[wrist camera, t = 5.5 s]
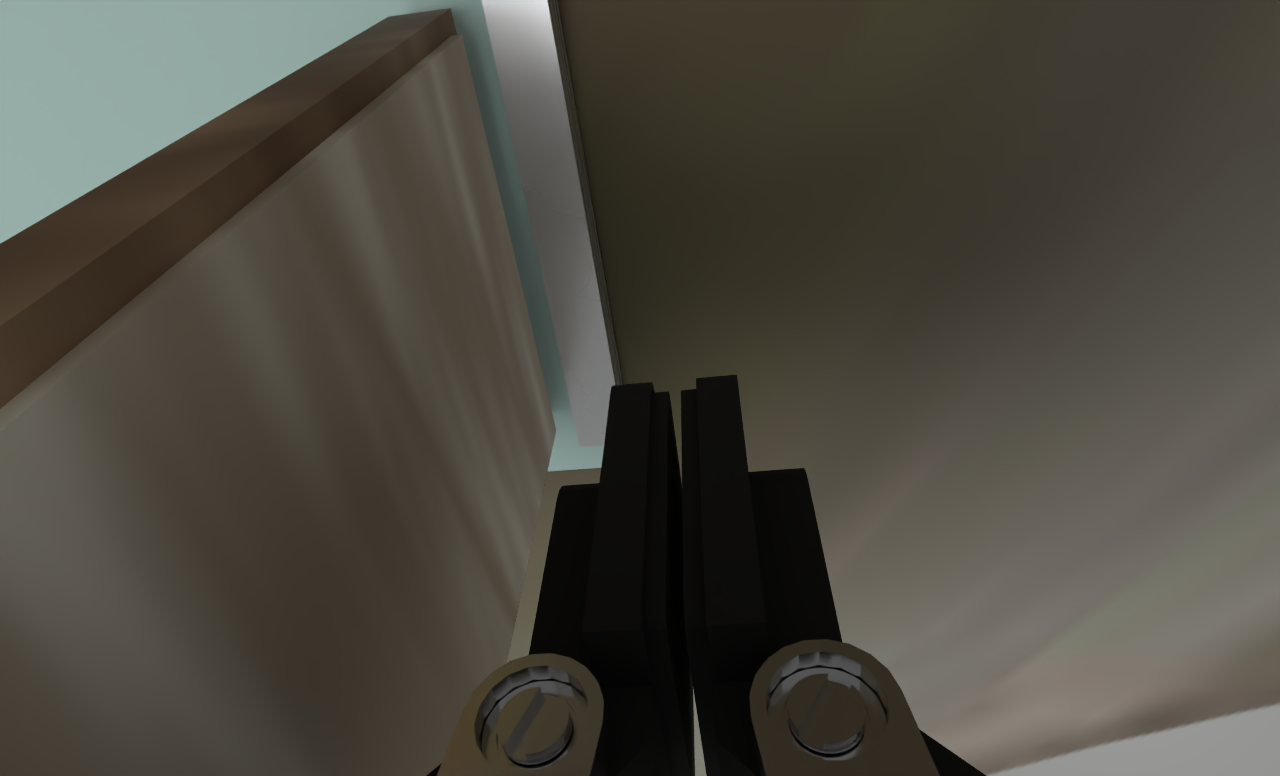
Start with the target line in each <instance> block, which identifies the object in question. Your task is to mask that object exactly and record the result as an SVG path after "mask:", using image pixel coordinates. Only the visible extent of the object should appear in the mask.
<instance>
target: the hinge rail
mask: <svg viewBox="0 0 1280 776" xmlns="http://www.w3.org/2000/svg"><path fill="white" fill-rule="evenodd" d="M482 4H483V9H484V13H485V18H486V22H487V27H488V32H489V36H490V41H491V45H492V50H493V54H494V59H495V63H496V68H497V72H498V77H499V82H500V86H501V91H502V95H503V100H504V104H505V109H506V113H507V118H508V123H509V127H510V132H511V136H512V141H513V145H514V150H515V154H516V159H517V163H518V168H519V173H520V177H521V182H522V186H523V191H524V195H525V200H526V204H527V209H528V213H529V218H530V223H531V227H532V232H533V236H534V241H535V245H536V250H537V254H538V259H539V263H540V268H541V273H542V277H543V282H544V286H545V291H546V295H547V300H548V304H549V309H550V313H551V318H552V323H553V327H554V332H555V336H556V341H557V345H558V350H559V354H560V359H561V363H562V368H563V373H564V377H565V382H566V386H567V391H568V395H569V400H570V404H571V409H572V414H573V418H574V423H575V427H576V432H577V436H578V441H579V445H580V447H590V446H603V445H604V441H605V433H606V425H607V416H608V408H609V399H610V391H611V387H612V386H614V385H623V382H622V376H621V370H620V364H619V358H618V352H617V346H616V340H615V335H614V329H613V323H612V317H611V311H610V305H609V299H608V293H607V287H606V282H605V276H604V270H603V264H602V258H601V252H600V246H599V240H598V234H597V228H596V223H595V217H594V211H593V205H592V199H591V193H590V187H589V181H588V175H587V169H586V164H585V158H584V152H583V146H582V140H581V134H580V128H579V122H578V116H577V110H576V105H575V99H574V93H573V87H572V81H571V75H570V69H569V63H568V57H567V52H566V46H565V40H564V34H563V28H562V22H561V16H560V10H559V4H558V0H482Z"/></svg>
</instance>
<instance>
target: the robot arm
mask: <svg viewBox="0 0 1280 776" xmlns="http://www.w3.org/2000/svg"><path fill="white" fill-rule="evenodd" d="M696 387H697V389H692V390H681V427H682V483H681V476H680V468H679V461H678V453H677V446H676V438H675V431H674V423H673V416H672V408H671V401H670V395H669V392H657V393H655V392H654V387H653V383H652V382H649V383H637V384H626V385H614V386H612V387H611V391H610V399H609V408H608V416H607V425H606V433H605V441H604V450H603V458H602V467H601V475H600V483H596V484H583V485H569V486H562V487H561V489H560V490H559V494H558V497H557V502H556V508H555V513H554V519H553V524H552V530H551V535H550V541H549V546H548V552H547V557H546V563H545V568H544V574H543V580H542V585H541V591H540V596H539V602H538V607H537V613H536V618H535V624H534V629H533V635H532V640H531V646H530V651H529V655H528V656H525V657H522V658H518V659H515V660H512V661H510V662H508V663H506V664H505V665H503V666H502V667H500V668H498V669H497V670H495V671H493V672H492V673H490V674H489V675H488V676H487V677H486V678H485V680H484V681H483V682H482V683H481V684H480V685H479V686H478V687H477V688H476V689H475V690H474V692H473V693H472V695H471V697H470V699H469V700H468V702H467V704H466V706H465V707H464V709H463V712H462V714H461V717H460V719H459V722H458V724H457V727H456V729H455V731H454V734H453V736H452V739H451V741H450V744H449V746H448V749H447V751H446V754H445V756H444V759H443V761H442V763H441V764H440V765H438V766H437V767H436V768H435V769H434V770H432V771H431V772H430V773H429V774H428V775H426V776H695V758H694V712H693V688H694V695H695V701H696V708H697V715H698V721H699V728H700V734H701V741H702V748H703V754H704V761H705V767H706V774H707V776H986V775H984V774H983V773H981V772H980V771H979V770H977V769H976V768H974V767H973V766H971V765H970V764H968V763H967V762H966V761H964V760H963V759H961V758H960V757H958V756H957V755H955V754H954V753H953V752H951V751H950V750H948V749H947V748H945V747H944V746H942V745H941V744H940V743H938V742H937V741H935V740H934V739H932V738H931V737H929V736H928V735H927V734H925V733H924V732H922V731H921V730H919V728H918V726H917V724H916V721H915V719H914V717H913V715H912V712H911V710H910V708H909V706H908V703H907V701H906V699H905V697H904V694H903V692H902V690H901V688H900V687H899V685H898V684H897V682H896V681H895V679H894V677H893V676H892V674H891V673H890V671H889V670H888V669H887V668H886V667H885V666H884V665H882V664H881V663H880V662H879V661H878V660H877V659H876V658H874V657H873V656H872V655H871V654H869V653H867V652H865V651H863V650H861V649H859V648H857V647H855V646H853V645H851V644H847V643H842V639H841V634H840V629H839V625H838V620H837V615H836V610H835V606H834V601H833V596H832V592H831V587H830V582H829V577H828V573H827V568H826V563H825V558H824V554H823V549H822V544H821V539H820V535H819V530H818V525H817V521H816V516H815V511H814V506H813V502H812V497H811V492H810V487H809V483H808V478H807V475H806V471H805V469H804V468H798V469H784V470H771V471H758V472H748V465H747V457H746V448H745V440H744V431H743V423H742V414H741V406H740V397H739V389H738V381H737V375H729V376H717V377H706V378H696Z"/></svg>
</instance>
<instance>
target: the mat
mask: <svg viewBox="0 0 1280 776" xmlns="http://www.w3.org/2000/svg"><path fill="white" fill-rule="evenodd" d="M448 8H451V11H452V15H453V19H454V23H455V28H456V32H457V35H461V34H462V37H463V41H464V46H465V50H466V54H467V58H468V62H469V67H470V71H471V75H472V79H473V83H474V88H475V92H476V96H477V100H478V104H479V109H480V113H481V117H482V121H483V125H484V130H485V134H486V138H487V142H488V146H489V151H490V155H491V159H492V163H493V167H494V171H495V176H496V180H497V184H498V188H499V192H500V197H501V201H502V205H503V209H504V213H505V218H506V222H507V226H508V230H509V234H510V239H511V243H512V247H513V251H514V255H515V260H516V264H517V268H518V272H519V276H520V281H521V285H522V289H523V293H524V297H525V302H526V306H527V310H528V314H529V318H530V322H531V327H532V331H533V335H534V339H535V343H536V348H537V352H538V356H539V360H540V364H541V369H542V373H543V377H544V381H545V385H546V390H547V394H548V398H549V402H550V406H551V411H552V415H553V419H554V423H555V427H556V434H555V439H554V444H553V448H552V453H551V458H550V462H549V467H548V471H560V470H574V469H589V468H601V467H602V458H603V450H604V445H603V446H590V447H580V445H579V441H578V436H577V432H576V427H575V423H574V418H573V414H572V409H571V404H570V400H569V395H568V391H567V386H566V382H565V377H564V373H563V368H562V363H561V359H560V354H559V350H558V345H557V341H556V336H555V332H554V327H553V323H552V318H551V313H550V309H549V304H548V300H547V295H546V291H545V286H544V282H543V277H542V273H541V268H540V263H539V259H538V254H537V250H536V245H535V241H534V236H533V232H532V227H531V223H530V218H529V213H528V209H527V204H526V200H525V195H524V191H523V186H522V182H521V177H520V173H519V168H518V163H517V159H516V154H515V150H514V145H513V141H512V136H511V132H510V127H509V123H508V118H507V113H506V109H505V104H504V100H503V95H502V91H501V86H500V82H499V77H498V72H497V68H496V63H495V59H494V54H493V50H492V45H491V41H490V36H489V32H488V27H487V22H486V18H485V13H484V9H483V4H482V0H0V243H2V242H4V241H6V240H7V239H9V238H11V237H12V236H14V235H16V234H18V233H19V232H21V231H23V230H24V229H26V228H28V227H30V226H31V225H33V224H35V223H36V222H38V221H40V220H41V219H43V218H45V217H47V216H48V215H50V214H52V213H53V212H55V211H57V210H59V209H60V208H62V207H64V206H65V205H67V204H69V203H71V202H72V201H74V200H76V199H77V198H79V197H81V196H83V195H84V194H86V193H88V192H89V191H91V190H93V189H94V188H96V187H98V186H100V185H101V184H103V183H105V182H106V181H108V180H110V179H112V178H113V177H115V176H117V175H118V174H120V173H122V172H124V171H125V170H127V169H129V168H130V167H132V166H134V165H136V164H137V163H139V162H141V161H142V160H144V159H146V158H147V157H149V156H151V155H153V154H154V153H156V152H158V151H159V150H161V149H163V148H165V147H166V146H168V145H170V144H171V143H173V142H175V141H177V140H178V139H180V138H182V137H183V136H185V135H187V134H189V133H190V132H192V131H194V130H195V129H197V128H199V127H200V126H202V125H204V124H206V123H207V122H209V121H211V120H212V119H214V118H216V117H218V116H219V115H221V114H223V113H224V112H226V111H228V110H230V109H231V108H233V107H235V106H236V105H238V104H240V103H242V102H243V101H245V100H247V99H248V98H250V97H252V96H253V95H255V94H257V93H259V92H260V91H262V90H264V89H265V88H267V87H269V86H271V85H272V84H274V83H276V82H277V81H279V80H281V79H283V78H284V77H286V76H288V75H289V74H291V73H293V72H295V71H296V70H298V69H300V68H301V67H303V66H305V65H306V64H308V63H310V62H312V61H313V60H315V59H317V58H318V57H320V56H322V55H324V54H325V53H327V52H329V51H330V50H332V49H334V48H336V47H337V46H339V45H341V44H342V43H344V42H346V41H348V40H349V39H351V38H353V37H354V36H356V35H358V34H359V33H361V32H363V31H365V30H366V29H368V28H370V27H371V26H373V25H375V24H377V23H378V22H380V21H382V20H383V19H385V18H387V17H389V16H396V15H404V14H411V13H418V12H426V11H433V10H440V9H448Z"/></svg>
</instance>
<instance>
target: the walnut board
mask: <svg viewBox="0 0 1280 776" xmlns="http://www.w3.org/2000/svg"><path fill="white" fill-rule="evenodd" d="M555 434H556V427H555V423H554V419H553V415H552V411H551V406H550V402H549V398H548V394H547V390H546V385H545V381H544V377H543V373H542V369H541V364H540V360H539V356H538V352H537V348H536V343H535V339H534V335H533V331H532V327H531V322H530V318H529V314H528V310H527V306H526V302H525V297H524V293H523V289H522V285H521V281H520V276H519V272H518V268H517V264H516V260H515V255H514V251H513V247H512V243H511V239H510V234H509V230H508V226H507V222H506V218H505V213H504V209H503V205H502V201H501V197H500V192H499V188H498V184H497V180H496V176H495V171H494V167H493V163H492V159H491V155H490V151H489V146H488V142H487V138H486V134H485V130H484V125H483V121H482V117H481V113H480V109H479V104H478V100H477V96H476V92H475V88H474V83H473V79H472V75H471V71H470V67H469V62H468V58H467V54H466V50H465V46H464V41H463V37H462V34H461V35H457V32H456V28H455V23H454V19H453V15H452V11H451V8H448V9H440V10H433V11H426V12H418V13H411V14H404V15H396V16H389V17H387V18H385V19H383V20H382V21H380V22H378V23H377V24H375V25H373V26H371V27H370V28H368V29H366V30H365V31H363V32H361V33H359V34H358V35H356V36H354V37H353V38H351V39H349V40H348V41H346V42H344V43H342V44H341V45H339V46H337V47H336V48H334V49H332V50H330V51H329V52H327V53H325V54H324V55H322V56H320V57H318V58H317V59H315V60H313V61H312V62H310V63H308V64H306V65H305V66H303V67H301V68H300V69H298V70H296V71H295V72H293V73H291V74H289V75H288V76H286V77H284V78H283V79H281V80H279V81H277V82H276V83H274V84H272V85H271V86H269V87H267V88H265V89H264V90H262V91H260V92H259V93H257V94H255V95H253V96H252V97H250V98H248V99H247V100H245V101H243V102H242V103H240V104H238V105H236V106H235V107H233V108H231V109H230V110H228V111H226V112H224V113H223V114H221V115H219V116H218V117H216V118H214V119H212V120H211V121H209V122H207V123H206V124H204V125H202V126H200V127H199V128H197V129H195V130H194V131H192V132H190V133H189V134H187V135H185V136H183V137H182V138H180V139H178V140H177V141H175V142H173V143H171V144H170V145H168V146H166V147H165V148H163V149H161V150H159V151H158V152H156V153H154V154H153V155H151V156H149V157H147V158H146V159H144V160H142V161H141V162H139V163H137V164H136V165H134V166H132V167H130V168H129V169H127V170H125V171H124V172H122V173H120V174H118V175H117V176H115V177H113V178H112V179H110V180H108V181H106V182H105V183H103V184H101V185H100V186H98V187H96V188H94V189H93V190H91V191H89V192H88V193H86V194H84V195H83V196H81V197H79V198H77V199H76V200H74V201H72V202H71V203H69V204H67V205H65V206H64V207H62V208H60V209H59V210H57V211H55V212H53V213H52V214H50V215H48V216H47V217H45V218H43V219H41V220H40V221H38V222H36V223H35V224H33V225H31V226H30V227H28V228H26V229H24V230H23V231H21V232H19V233H18V234H16V235H14V236H12V237H11V238H9V239H7V240H6V241H4V242H2V243H0V776H426V775H428V774H429V773H430V772H431V771H432V770H434V769H435V768H436V767H437V766H438V765H440V764H441V763H442V761H443V759H444V756H445V754H446V751H447V749H448V746H449V744H450V741H451V739H452V736H453V734H454V731H455V729H456V727H457V724H458V722H459V719H460V717H461V714H462V712H463V709H464V707H465V706H466V704H467V702H468V700H469V699H470V697H471V695H472V693H473V692H474V690H475V689H476V688H477V687H478V686H479V685H480V684H481V683H482V682H483V681H484V680H485V678H486V677H487V676H488V675H489V674H490V673H492V672H493V671H495V670H497V669H498V668H500V667H502V666H503V665H505V664H506V663H507V659H508V654H509V649H510V645H511V640H512V635H513V631H514V626H515V621H516V617H517V612H518V607H519V603H520V598H521V593H522V589H523V584H524V579H525V575H526V570H527V565H528V561H529V556H530V551H531V547H532V542H533V537H534V532H535V528H536V523H537V518H538V514H539V509H540V504H541V500H542V495H543V490H544V486H545V481H546V476H547V472H548V467H549V462H550V458H551V453H552V448H553V444H554V439H555Z"/></svg>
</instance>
